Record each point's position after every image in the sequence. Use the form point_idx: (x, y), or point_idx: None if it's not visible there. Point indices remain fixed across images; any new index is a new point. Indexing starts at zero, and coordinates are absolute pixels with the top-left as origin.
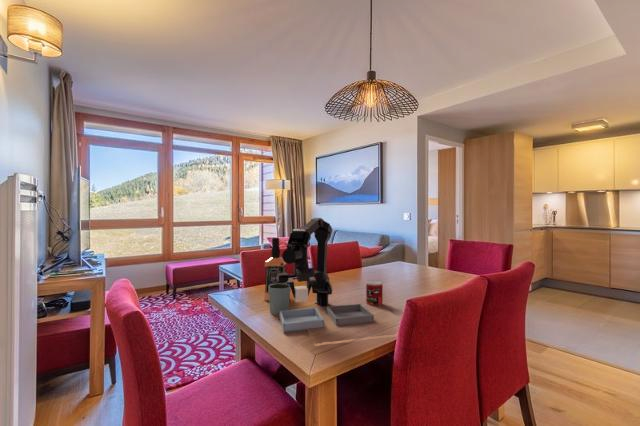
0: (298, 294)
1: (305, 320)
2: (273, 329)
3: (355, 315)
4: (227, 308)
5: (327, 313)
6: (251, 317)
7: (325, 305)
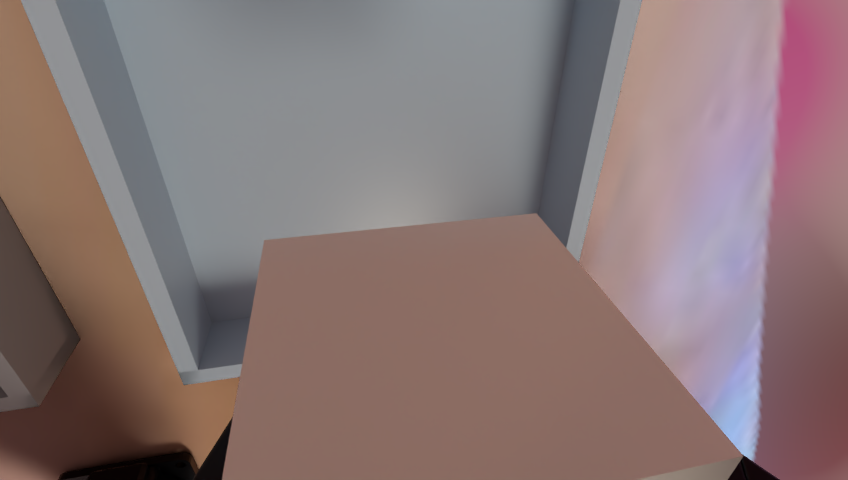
0: (553, 331)
1: (317, 185)
2: (647, 63)
3: None
4: (753, 431)
5: (57, 329)
6: (698, 318)
7: (102, 477)
